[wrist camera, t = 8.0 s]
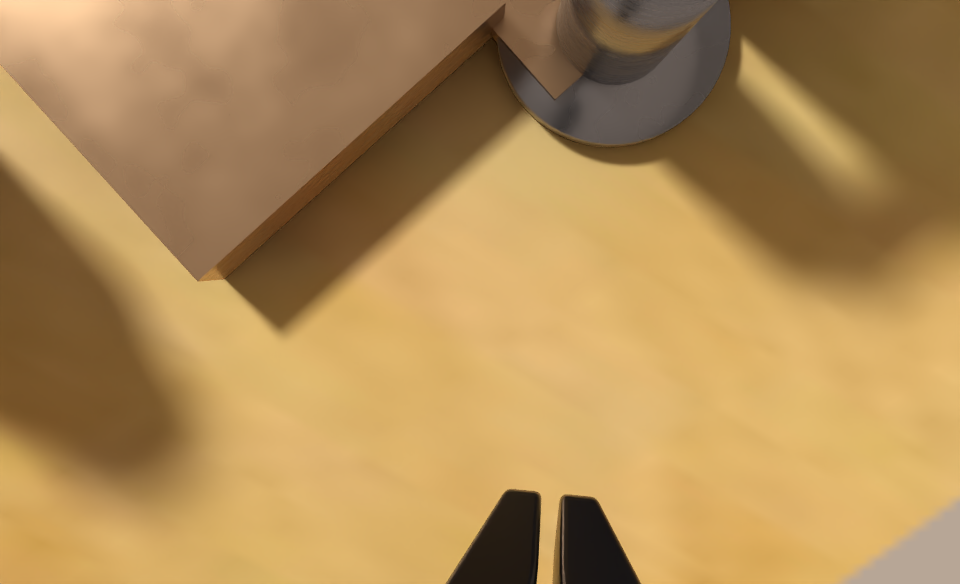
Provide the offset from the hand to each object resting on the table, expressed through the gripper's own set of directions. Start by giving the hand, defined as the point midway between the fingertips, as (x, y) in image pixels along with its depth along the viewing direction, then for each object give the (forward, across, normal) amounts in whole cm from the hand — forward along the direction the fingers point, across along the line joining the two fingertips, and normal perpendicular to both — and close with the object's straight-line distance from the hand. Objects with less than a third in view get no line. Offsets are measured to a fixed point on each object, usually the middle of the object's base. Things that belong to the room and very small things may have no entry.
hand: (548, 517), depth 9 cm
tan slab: (+15, +5, -2) cm, 16 cm away
